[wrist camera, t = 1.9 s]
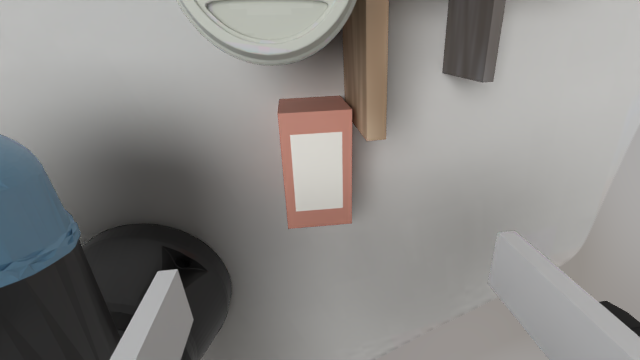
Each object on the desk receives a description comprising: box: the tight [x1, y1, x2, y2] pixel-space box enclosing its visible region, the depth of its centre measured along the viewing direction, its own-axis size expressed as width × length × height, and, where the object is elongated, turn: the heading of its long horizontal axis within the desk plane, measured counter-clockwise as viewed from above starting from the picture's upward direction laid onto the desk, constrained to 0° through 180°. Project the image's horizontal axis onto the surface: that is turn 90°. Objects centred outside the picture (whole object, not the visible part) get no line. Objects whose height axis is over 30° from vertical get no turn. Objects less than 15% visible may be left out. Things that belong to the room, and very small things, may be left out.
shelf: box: [342, 0, 506, 141], centre depth 22 cm, size 14×11×8 cm
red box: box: [278, 96, 352, 229], centre depth 26 cm, size 5×9×6 cm, turn 2°
